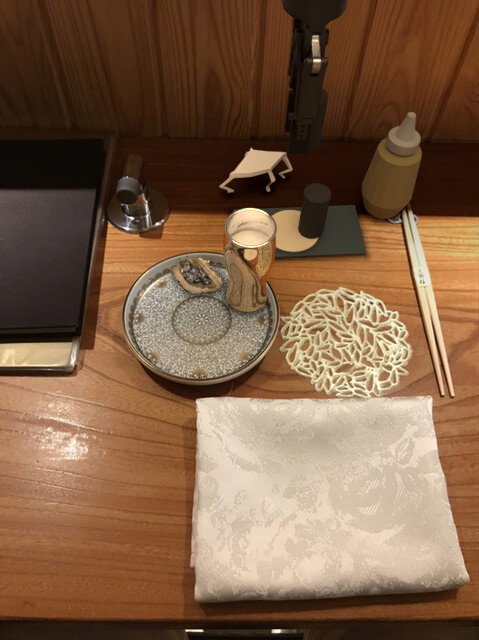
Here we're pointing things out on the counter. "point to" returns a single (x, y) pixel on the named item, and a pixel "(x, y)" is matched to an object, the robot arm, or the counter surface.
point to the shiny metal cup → (249, 257)
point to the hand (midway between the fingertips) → (295, 141)
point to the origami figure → (258, 166)
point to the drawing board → (335, 240)
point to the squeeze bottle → (393, 171)
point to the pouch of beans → (196, 275)
